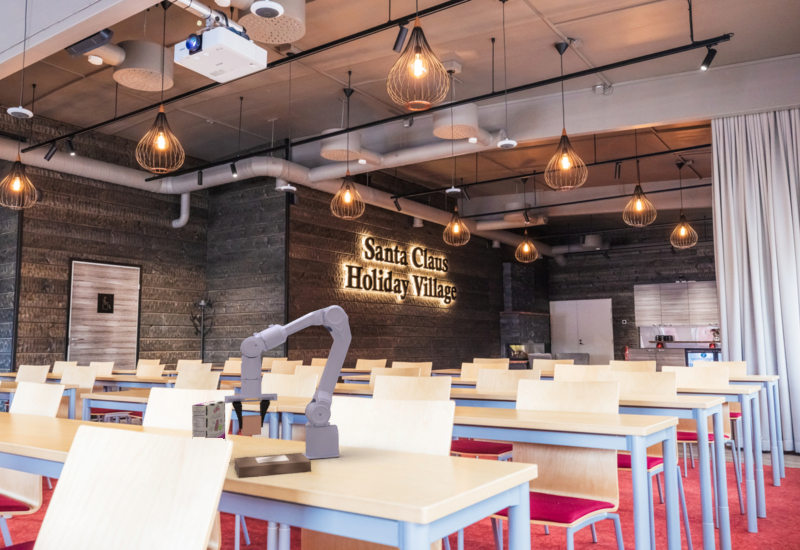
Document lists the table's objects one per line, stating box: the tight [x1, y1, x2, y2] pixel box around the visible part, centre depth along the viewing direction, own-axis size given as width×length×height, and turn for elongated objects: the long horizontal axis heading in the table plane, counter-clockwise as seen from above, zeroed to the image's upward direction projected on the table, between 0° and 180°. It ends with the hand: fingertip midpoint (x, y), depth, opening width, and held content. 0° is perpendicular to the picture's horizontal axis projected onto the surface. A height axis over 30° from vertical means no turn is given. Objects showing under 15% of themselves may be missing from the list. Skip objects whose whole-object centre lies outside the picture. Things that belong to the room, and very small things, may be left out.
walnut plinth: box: [234, 452, 312, 479], centre depth 164 cm, size 18×14×3 cm
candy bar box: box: [191, 400, 226, 440], centre depth 181 cm, size 11×5×16 cm, turn 168°
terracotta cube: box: [240, 414, 262, 437], centre depth 176 cm, size 5×5×5 cm
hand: (251, 427), depth 176 cm, fingers closed on terracotta cube, 5 cm apart
